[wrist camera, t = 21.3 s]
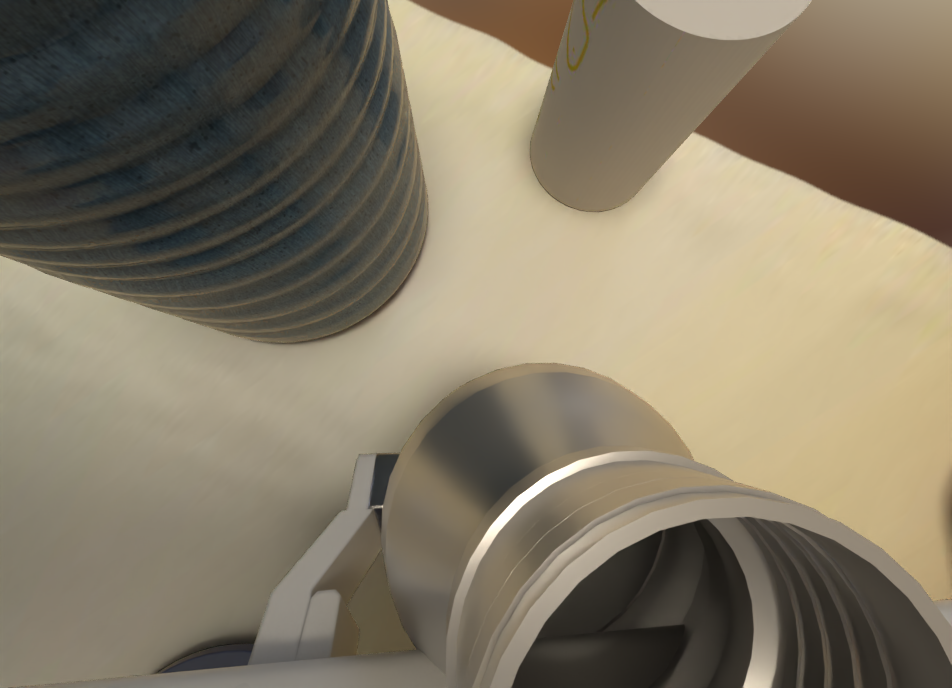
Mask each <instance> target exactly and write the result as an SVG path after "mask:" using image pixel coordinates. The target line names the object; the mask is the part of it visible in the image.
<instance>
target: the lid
mask: <svg viewBox="0 0 952 688" xmlns="http://www.w3.org/2000/svg"><path fill="white" fill-rule="evenodd" d="M253 646H254V644H230V645H224V646H218V647H212V648H209V649H206V650H203V651H199V652H196V653H193V654H191V655H189V656H187V657H184V658H182V659H180V660H178V661H176V662H174V663H172V664H171V665H169V666H167V667H166V668H164V669H163V670H161V671H159V672H158V673H157V674H161V673H172V672H182V671H193V670H203V669H214V668H225V667H235V666H246V665H248V662H249V659H250V656H251V653H252V650H253Z"/></svg>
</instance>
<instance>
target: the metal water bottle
mask: <svg viewBox="0 0 952 688" xmlns="http://www.w3.org/2000/svg"><path fill="white" fill-rule="evenodd" d="M381 546H382V552H383V558H384V565H385V571H386V577H387V581H388V585H389V589H390V593H391V596H392V599H393V602H394V604H395V607H396V610H397V612H398V615H399V618H400V621H401V623H402V626H403V628H404V630H405V631H406V633H407V634H408V636H409V638H410V639H411V641H412V642H413V644H414V646H415V647H416V649H419V650H421V651H422V652H423V653H424V654H425V655H426V656H427V657H428V658H429V659H430V660H431V661H432V662H433V663H434V665H435V666H437V667H438V668H439V669H440V670H441V671H442V672H443V673H444V674H445V675H446V684H447V688H512V684H513V682H514V679H515V676H516V673H517V671H518V668H519V666H520V664H521V663H522V661H523V659H524V658H525V656H526V654H527V652H528V651H529V649H530V647H531V646H532V644H533V642H534V640H535V639H536V638H543V637H554V636H564V635H575V634H585V633H596V632H607V631H617V630H628V629H638V628H649V627H660V626H670V625H681V624H684V625H685V630H684V635H683V639H682V642H681V643H680V645H679V647H678V649H677V651H676V653H675V654H674V656H673V658H672V660H671V662H670V664H669V665H668V667H667V669H666V671H665V672H664V673H663V674H662V675H661V676H660V677H659V678H658V679H657V680H656V681H655V682H654V683H653V684H652V685H650V686H649V687H648V688H952V627H951V625H950V624H949V622H948V621H947V620H946V618H945V617H944V616H943V614H942V613H941V612H940V610H939V609H938V608H937V606H936V605H935V604H934V602H933V601H932V600H931V598H930V597H929V596H928V594H927V593H926V592H925V590H924V589H923V588H922V586H921V585H920V584H919V583H918V582H917V581H916V580H915V579H914V578H913V577H912V576H911V575H910V574H909V573H908V572H906V571H905V570H904V569H903V568H902V567H901V566H900V565H899V564H898V563H897V562H896V561H895V560H894V559H893V558H891V557H890V556H889V555H888V554H887V553H886V552H885V551H884V550H883V549H882V548H880V547H879V546H877V545H875V544H874V543H872V542H871V541H869V540H868V539H866V538H864V537H863V536H861V535H860V534H858V533H856V532H855V531H853V530H852V529H850V528H849V527H847V526H845V525H844V524H842V523H841V522H838V521H836V520H833V519H831V518H828V517H826V516H825V515H823V514H822V513H820V512H819V511H817V510H815V509H813V508H811V507H808V506H806V505H803V504H800V503H798V502H795V501H793V500H790V499H787V498H785V497H782V496H780V495H777V494H774V493H772V492H768V491H765V490H761V489H758V488H754V487H751V486H747V485H743V484H741V483H737V482H734V481H733V480H731V479H729V478H728V477H726V476H725V475H723V474H722V473H720V472H718V471H717V470H715V469H714V468H711V467H708V466H706V465H703V464H701V463H698V462H695V461H694V459H693V457H692V455H691V453H690V451H689V449H688V448H687V446H686V445H685V444H684V442H683V441H682V439H681V438H680V437H679V435H678V434H677V432H676V431H675V430H674V428H673V427H672V425H671V424H670V423H668V422H667V421H666V420H665V419H664V418H663V417H662V416H661V415H660V414H659V413H658V412H657V411H656V410H655V409H654V408H653V407H652V406H650V405H649V404H648V403H647V402H645V401H644V400H643V399H641V398H640V397H639V396H637V395H636V394H635V393H633V392H631V391H630V390H628V389H627V388H625V387H623V386H622V385H620V384H619V383H617V382H616V381H614V380H612V379H611V378H608V377H606V376H603V375H601V374H598V373H596V372H593V371H590V370H588V369H585V368H582V367H576V366H570V365H564V364H559V363H525V364H521V365H516V366H512V367H507V368H502V369H498V370H495V371H493V372H490V373H488V374H486V375H483V376H481V377H479V378H476V379H474V380H472V381H469V382H468V383H466V384H465V385H462V386H460V387H459V388H457V389H456V390H454V391H453V392H451V393H450V394H449V395H448V396H447V397H445V398H444V399H443V400H442V401H441V402H440V403H439V404H438V405H437V406H436V407H435V408H434V409H433V410H432V411H431V412H430V413H429V414H428V415H427V416H426V417H425V418H424V419H423V420H422V421H421V422H420V423H419V425H418V426H417V428H416V429H415V431H414V432H413V434H412V435H411V436H410V438H409V439H408V441H407V442H406V444H405V445H404V447H403V448H402V451H401V453H400V455H399V457H398V460H397V462H396V464H395V466H394V469H393V471H392V473H391V475H390V478H389V483H388V487H387V491H386V495H385V500H384V504H383V508H382V529H381Z"/></svg>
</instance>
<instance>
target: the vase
mask: <svg viewBox="0 0 952 688" xmlns="http://www.w3.org/2000/svg"><path fill="white" fill-rule="evenodd" d="M427 216H428V198H427V188H426V183H425V178H424V173H423V168H422V162H421V158H420V152H419V147H418V142H417V137H416V132H415V127H414V122H413V116H412V111H411V106H410V101H409V96H408V91H407V86H406V81H405V75H404V70H403V67H402V61H401V55H400V50H399V45H398V40H397V35H396V30H395V27H394V24H393V21H392V17H391V14H390V11H389V6H388V1H387V0H0V256H3V257H6V258H9V259H12V260H15V261H18V262H20V263H23V264H26V265H28V266H30V267H32V268H35V269H37V270H39V271H41V272H43V273H46V274H49V275H52V276H54V277H57V278H60V279H63V280H66V281H69V282H72V283H75V284H78V285H81V286H84V287H88V288H92V289H94V290H97V291H100V292H103V293H106V294H109V295H112V296H115V297H118V298H121V299H124V300H127V301H130V302H134V303H137V304H140V305H142V306H145V307H148V308H151V309H154V310H157V311H160V312H163V313H166V314H169V315H173V316H176V317H179V318H182V319H185V320H188V321H191V322H194V323H197V324H200V325H203V326H206V327H210V328H212V329H215V330H218V331H221V332H224V333H227V334H230V335H233V336H236V337H241V338H245V339H249V340H255V341H263V342H278V343H288V342H301V341H306V340H312V339H317V338H321V337H324V336H328V335H331V334H334V333H336V332H339V331H341V330H344V329H346V328H348V327H350V326H352V325H354V324H356V323H358V322H360V321H361V320H363V319H364V318H366V317H367V316H369V315H370V314H372V313H373V312H374V311H376V310H377V309H378V308H379V307H381V306H382V305H383V304H384V303H385V302H386V301H387V300H388V299H389V298H390V297H391V296H392V295H393V294H394V293H395V292H396V291H397V289H398V288H399V287H400V286H401V284H402V283H403V282H404V280H405V279H406V277H407V276H408V274H409V273H410V271H411V269H412V267H413V265H414V263H415V262H416V260H417V257H418V255H419V252H420V249H421V247H422V244H423V240H424V236H425V232H426V225H427Z"/></svg>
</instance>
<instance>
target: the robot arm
mask: <svg viewBox="0 0 952 688" xmlns="http://www.w3.org/2000/svg"><path fill="white" fill-rule="evenodd" d="M400 453H401V452H400ZM400 453H374V454H359V456H358V458H357V460H356V464H355V469H354V474H353V479H352V484H351V489H350V493H349V498H348V503H347V508H346V510H344V511H340V512H339V513H338V514H337V516H336V517H335V518H334V519H333V520H332V521H331V523H330V524H329V525H328V526H327V527H326V528H325V530H324V531H323V532H322V533H321V534H320V536H319V537H318V538H317V539H316V540H315V541H314V543H313V544H312V545H311V546H310V547H309V548H308V550H307V551H306V552H305V553H304V554H303V555H302V557H301V558H300V559H299V560H298V561H297V562H296V564H295V565H294V566H293V567H292V568H291V570H290V571H289V572H288V573H287V574H286V575H285V577H284V578H283V579H282V580H281V581H280V582H279V584H278V585H277V586H276V587H275V588H274V589H273V591H272V592H271V593H270V596H269V599H268V603H267V606H266V609H265V612H264V615H263V618H262V621H261V625H260V628H259V631H258V634H257V637H256V640H255V643H254V646H253V650H252V653H251V656H250V659H249V662H248V665H246V666H235V667H225V668H214V669H203V670H193V671H182V672H172V673H161V674H150V675H140V676H129V677H119V678H108V679H98V680H87V681H77V682H66V683H56V684H44V685H33V686H21V687H10V688H447V684H446V675H445V674H444V673H443V672H442V671H441V670H440V669H439V668H438V667H437V666H435V665H434V663H433V662H432V661H431V660H430V659H429V658H428V657H427V656H426V655H425V654H424V653H423V652H422V651H421V650H419V649H416V650H405V651H394V652H384V653H373V654H363V655H357V648H358V640H359V632H360V630H359V628H358V626H357V624H356V622H355V621H354V619H353V617H352V615H351V613H350V611H349V610H348V608H347V604H348V603H349V601H350V599H351V598H352V596H353V594H354V593H355V591H356V590H357V588H358V586H359V585H360V583H361V582H362V580H363V578H364V577H365V575H366V573H367V572H368V570H369V569H370V567H371V565H372V564H373V562H374V560H375V559H376V557H377V556H378V554H379V552H380V551H381V549H382V546H381V529H382V508H383V504H384V500H385V495H386V491H387V487H388V483H389V478H390V475H391V473H392V471H393V469H394V466H395V464H396V462H397V460H398V457H399V455H400ZM933 602H934V604H935V605H936V606H937V608H938V609H939V610H940V612H941V613H942V614H943V616H944V617H945V618H946V620H947V621H948V622H949V624H950V625H951V627H952V599H946V600H935V601H933ZM684 630H685V625H684V624H681V625H670V626H660V627H649V628H638V629H628V630H617V631H607V632H596V633H585V634H575V635H564V636H554V637H543V638H536V639H535V640H534V642H533V644H532V646H531V647H530V649H529V651H528V652H527V654H526V656H525V658H524V659H523V661H522V663H521V664H520V666H519V668H518V671H517V673H516V676H515V679H514V682H513V684H512V688H648V687H649V686H650V685H652V684H653V683H654V682H655V681H656V680H657V679H658V678H659V677H660V676H661V675H662V674H663V673H664V672H665V671H666V669H667V667H668V665H669V664H670V662H671V660H672V658H673V656H674V654H675V653H676V651H677V649H678V647H679V645H680V643H681V642H682V639H683V635H684Z"/></svg>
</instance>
